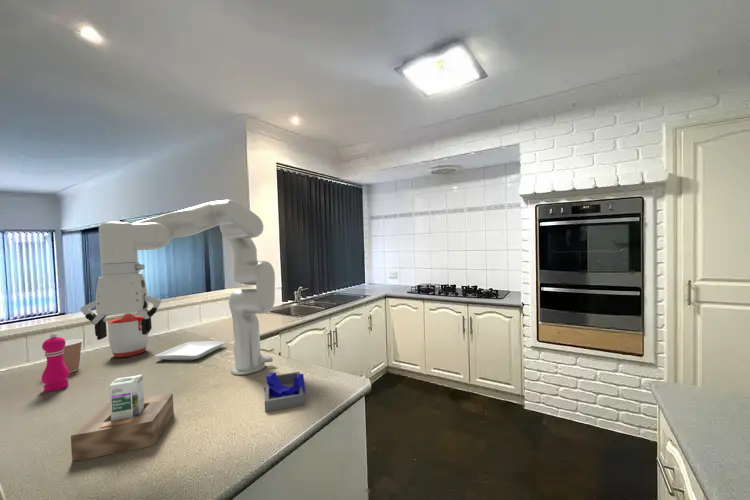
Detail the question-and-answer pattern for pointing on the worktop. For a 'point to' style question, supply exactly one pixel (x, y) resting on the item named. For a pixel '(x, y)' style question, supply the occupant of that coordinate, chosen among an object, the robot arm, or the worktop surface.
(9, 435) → the worktop surface
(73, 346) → the coffee cup
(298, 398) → the clip frame
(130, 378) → the syrup box
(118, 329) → the citrus juicer
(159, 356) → the salad plate
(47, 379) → the pepper mill
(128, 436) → the socket block
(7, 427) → the worktop surface
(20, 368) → the worktop surface
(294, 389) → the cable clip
